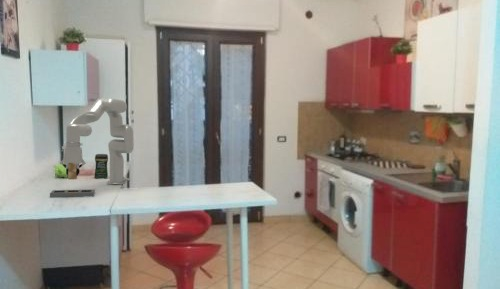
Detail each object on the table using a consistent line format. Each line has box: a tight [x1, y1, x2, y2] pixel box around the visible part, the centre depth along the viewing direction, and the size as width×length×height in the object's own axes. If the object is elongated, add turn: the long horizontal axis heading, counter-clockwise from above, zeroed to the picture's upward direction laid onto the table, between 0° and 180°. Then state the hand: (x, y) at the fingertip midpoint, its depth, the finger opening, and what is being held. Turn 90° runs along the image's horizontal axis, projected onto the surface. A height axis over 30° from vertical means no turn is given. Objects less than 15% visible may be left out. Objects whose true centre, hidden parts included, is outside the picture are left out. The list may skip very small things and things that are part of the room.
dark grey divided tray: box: [49, 189, 96, 198], centre depth 243 cm, size 24×9×3 cm, turn 106°
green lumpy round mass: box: [53, 162, 68, 179], centre depth 305 cm, size 15×14×11 cm
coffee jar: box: [94, 153, 109, 179], centre depth 308 cm, size 10×8×19 cm
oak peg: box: [67, 163, 78, 180], centre depth 241 cm, size 4×4×10 cm
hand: (72, 174), depth 242 cm, fingers closed on oak peg, 4 cm apart
